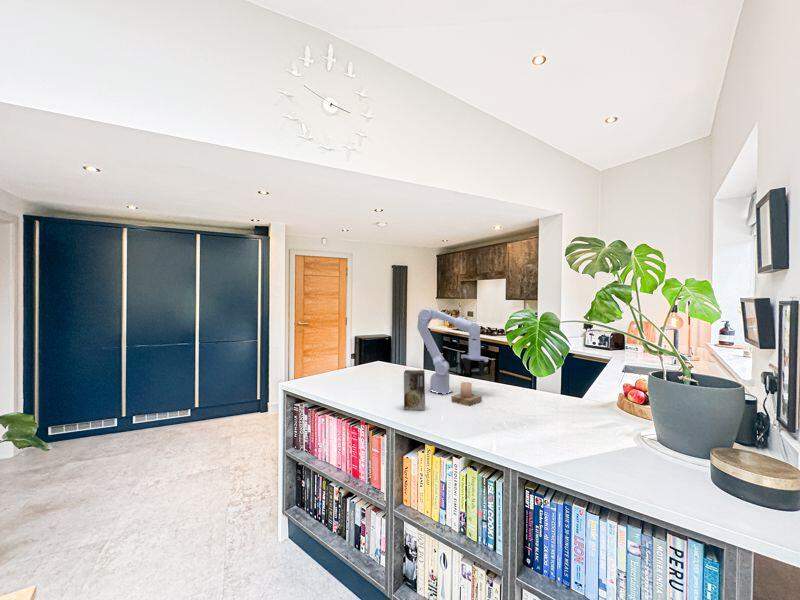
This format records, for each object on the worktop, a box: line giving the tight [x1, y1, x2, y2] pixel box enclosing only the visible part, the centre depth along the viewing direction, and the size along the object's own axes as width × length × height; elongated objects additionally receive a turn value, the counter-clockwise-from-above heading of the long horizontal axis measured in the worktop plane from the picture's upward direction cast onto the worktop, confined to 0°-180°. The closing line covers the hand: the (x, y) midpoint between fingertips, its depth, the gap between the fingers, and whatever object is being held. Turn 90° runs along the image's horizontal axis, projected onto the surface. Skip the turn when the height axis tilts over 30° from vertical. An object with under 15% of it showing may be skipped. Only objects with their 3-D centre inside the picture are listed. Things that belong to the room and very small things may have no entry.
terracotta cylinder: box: [460, 381, 473, 398], centre depth 164 cm, size 5×5×6 cm
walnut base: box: [451, 392, 483, 407], centre depth 164 cm, size 10×10×2 cm
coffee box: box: [403, 369, 426, 411], centre depth 155 cm, size 9×6×16 cm
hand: (474, 374), depth 176 cm, fingers open, 7 cm apart
